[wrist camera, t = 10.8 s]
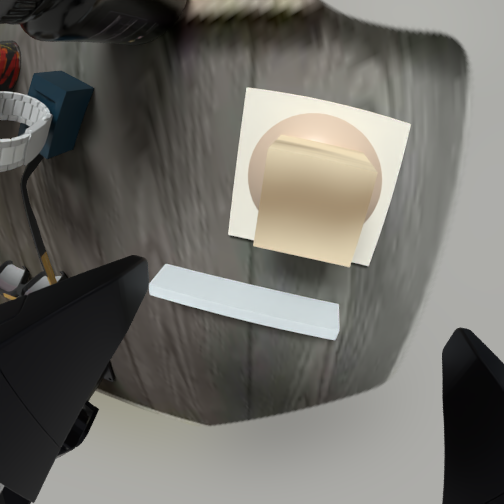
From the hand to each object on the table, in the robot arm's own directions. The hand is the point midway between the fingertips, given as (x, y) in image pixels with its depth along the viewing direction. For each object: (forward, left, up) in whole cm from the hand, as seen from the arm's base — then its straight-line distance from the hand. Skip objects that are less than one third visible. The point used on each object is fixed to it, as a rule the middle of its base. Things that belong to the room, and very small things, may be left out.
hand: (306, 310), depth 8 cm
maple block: (0, 0, -12) cm, 12 cm away
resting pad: (0, 0, -13) cm, 13 cm away
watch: (+3, +20, -13) cm, 24 cm away
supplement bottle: (+11, +13, -13) cm, 21 cm away
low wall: (-10, +3, -13) cm, 16 cm away
